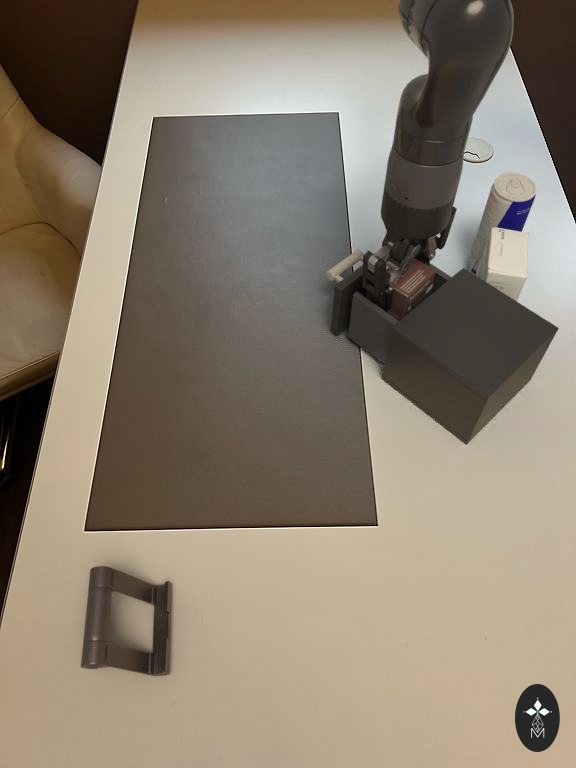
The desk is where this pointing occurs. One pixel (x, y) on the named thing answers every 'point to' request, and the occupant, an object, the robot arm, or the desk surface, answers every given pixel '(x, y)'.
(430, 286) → the box
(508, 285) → the ink box
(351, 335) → the drawer
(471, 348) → the cabinet
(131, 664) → the tablet stand
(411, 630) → the desk surface
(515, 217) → the beverage can
